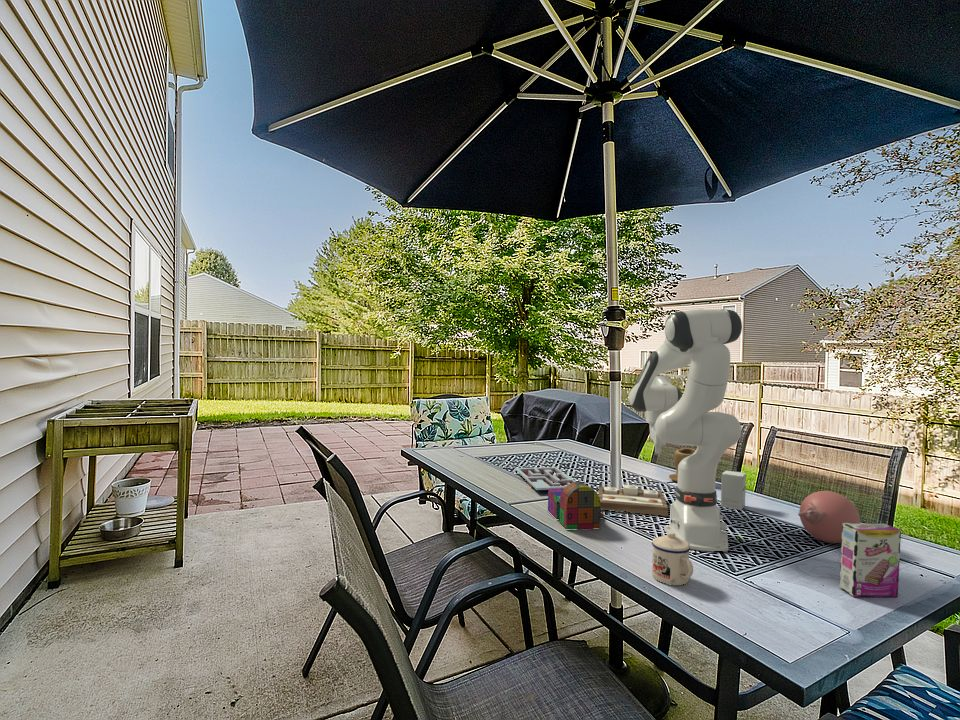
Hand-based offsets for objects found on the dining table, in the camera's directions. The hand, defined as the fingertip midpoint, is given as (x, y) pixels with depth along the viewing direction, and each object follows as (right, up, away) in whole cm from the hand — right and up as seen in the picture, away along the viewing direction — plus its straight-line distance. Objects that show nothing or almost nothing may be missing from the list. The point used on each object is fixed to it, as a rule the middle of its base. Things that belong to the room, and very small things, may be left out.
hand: (657, 453), depth 192 cm
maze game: (-39, -19, +28) cm, 51 cm away
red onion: (+37, -20, -38) cm, 57 cm away
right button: (-2, -18, +1) cm, 18 cm away
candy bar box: (+26, -21, -71) cm, 78 cm away
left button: (-17, -18, +5) cm, 25 cm away
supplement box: (+28, -20, -2) cm, 34 cm away
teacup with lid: (-19, -20, -66) cm, 71 cm away
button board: (-11, -19, -2) cm, 22 cm away
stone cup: (+26, -19, +34) cm, 46 cm away
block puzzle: (-34, -19, -17) cm, 43 cm away
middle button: (-10, -16, +3) cm, 19 cm away
